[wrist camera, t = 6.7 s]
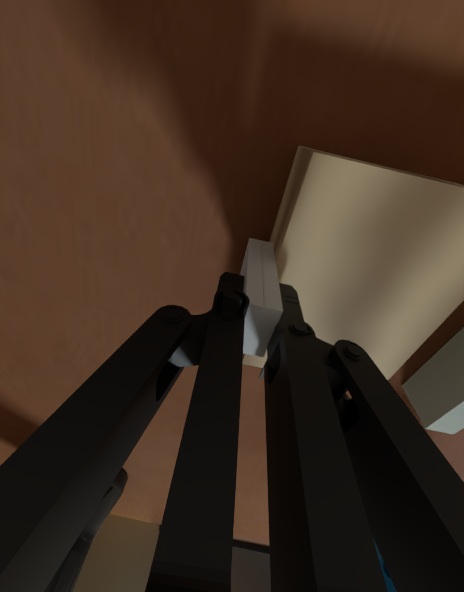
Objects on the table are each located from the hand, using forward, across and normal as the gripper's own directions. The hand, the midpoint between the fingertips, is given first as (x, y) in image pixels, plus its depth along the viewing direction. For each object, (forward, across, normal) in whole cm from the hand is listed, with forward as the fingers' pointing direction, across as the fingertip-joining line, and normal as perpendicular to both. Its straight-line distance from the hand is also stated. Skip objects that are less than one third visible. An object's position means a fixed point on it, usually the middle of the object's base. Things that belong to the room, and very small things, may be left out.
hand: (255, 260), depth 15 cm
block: (+2, +6, 0) cm, 6 cm away
